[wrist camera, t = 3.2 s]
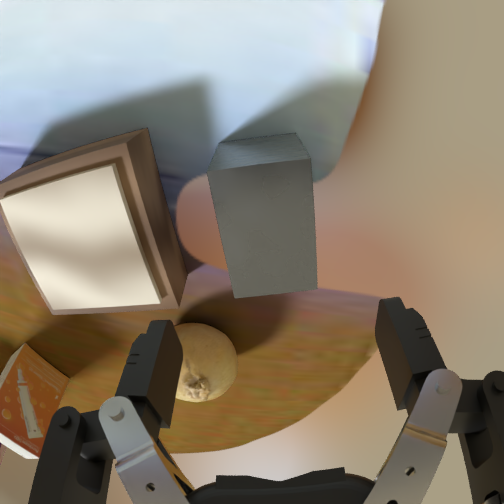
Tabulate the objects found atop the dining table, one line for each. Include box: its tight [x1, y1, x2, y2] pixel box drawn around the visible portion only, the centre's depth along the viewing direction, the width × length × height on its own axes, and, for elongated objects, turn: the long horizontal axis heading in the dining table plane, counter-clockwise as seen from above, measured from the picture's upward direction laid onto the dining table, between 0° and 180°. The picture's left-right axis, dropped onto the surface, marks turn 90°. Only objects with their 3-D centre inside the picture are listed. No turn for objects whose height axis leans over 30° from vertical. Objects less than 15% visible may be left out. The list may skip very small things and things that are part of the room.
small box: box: [0, 343, 70, 459], centre depth 30 cm, size 8×6×13 cm
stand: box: [0, 128, 188, 315], centre depth 21 cm, size 12×12×4 cm
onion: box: [174, 323, 238, 402], centre depth 27 cm, size 8×8×7 cm
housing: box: [207, 133, 317, 298], centre depth 20 cm, size 9×5×6 cm, turn 8°
